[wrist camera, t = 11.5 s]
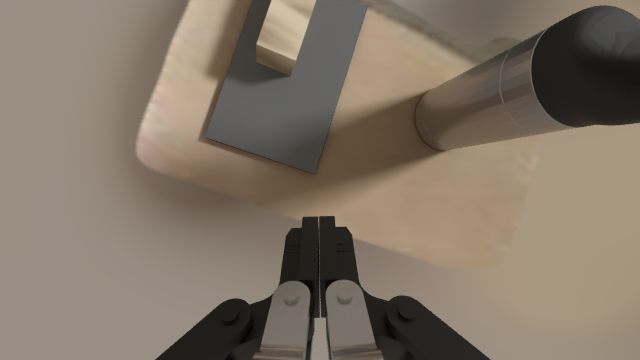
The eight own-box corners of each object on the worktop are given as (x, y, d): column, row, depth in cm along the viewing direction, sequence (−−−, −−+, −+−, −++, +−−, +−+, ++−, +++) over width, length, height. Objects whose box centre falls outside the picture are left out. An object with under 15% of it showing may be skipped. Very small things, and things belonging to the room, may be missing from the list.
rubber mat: (268, -40, 35) (268, -44, 34) (366, 8, 38) (367, 6, 37) (205, 137, 33) (204, 136, 33) (314, 173, 36) (314, 173, 35)
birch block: (256, 61, 34) (286, -25, 35) (291, 76, 35) (319, -9, 36) (256, 44, 30) (290, -55, 30) (295, 60, 30) (327, -36, 31)
